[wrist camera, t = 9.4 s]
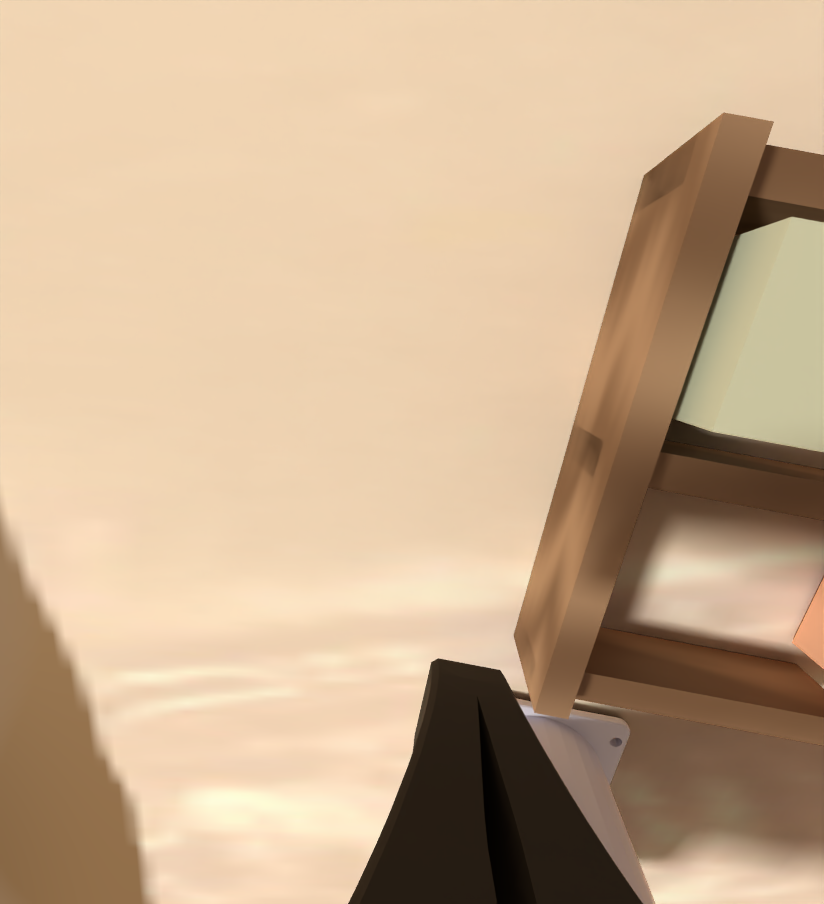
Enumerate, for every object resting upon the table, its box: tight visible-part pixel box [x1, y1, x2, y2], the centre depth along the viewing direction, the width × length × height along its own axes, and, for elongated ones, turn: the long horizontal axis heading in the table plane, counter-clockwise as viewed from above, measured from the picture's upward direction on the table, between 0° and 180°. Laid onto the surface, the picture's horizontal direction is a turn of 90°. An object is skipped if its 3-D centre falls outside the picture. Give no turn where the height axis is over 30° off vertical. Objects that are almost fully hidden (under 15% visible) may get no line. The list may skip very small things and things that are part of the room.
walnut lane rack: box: [514, 113, 824, 746], centre depth 14 cm, size 18×12×4 cm, turn 170°
